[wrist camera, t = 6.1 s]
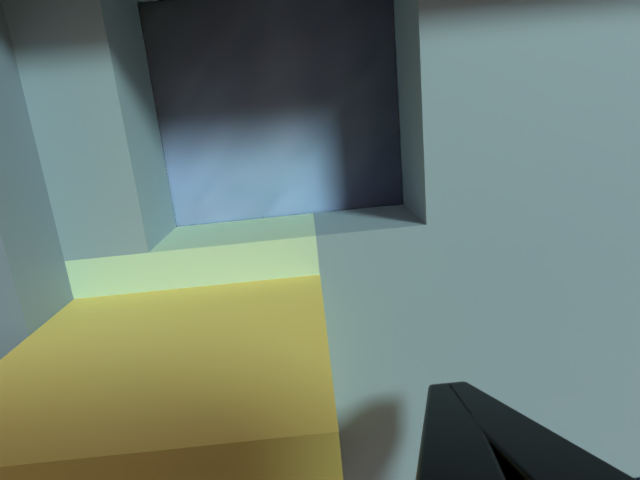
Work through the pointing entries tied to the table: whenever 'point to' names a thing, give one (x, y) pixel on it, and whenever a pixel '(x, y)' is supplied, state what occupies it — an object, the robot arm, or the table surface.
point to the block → (175, 388)
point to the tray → (369, 214)
